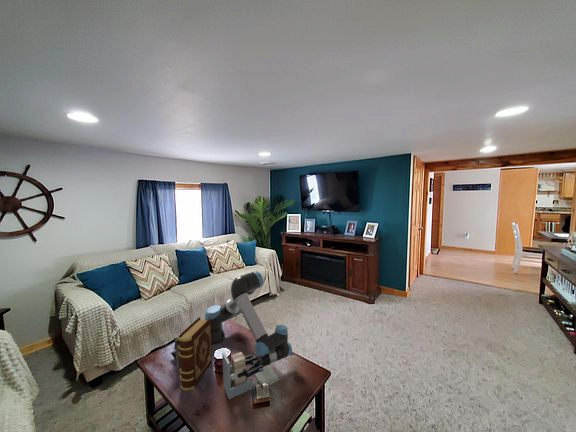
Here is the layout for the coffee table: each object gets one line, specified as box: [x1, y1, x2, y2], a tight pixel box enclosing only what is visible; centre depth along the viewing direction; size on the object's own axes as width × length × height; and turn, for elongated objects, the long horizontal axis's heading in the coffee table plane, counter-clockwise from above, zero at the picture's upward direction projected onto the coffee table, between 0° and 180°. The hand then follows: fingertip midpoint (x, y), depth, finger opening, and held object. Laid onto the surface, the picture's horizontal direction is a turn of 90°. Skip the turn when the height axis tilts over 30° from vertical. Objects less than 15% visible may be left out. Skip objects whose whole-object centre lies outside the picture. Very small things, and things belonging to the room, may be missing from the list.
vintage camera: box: [170, 336, 181, 370], centre depth 150 cm, size 10×16×20 cm, turn 45°
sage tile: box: [254, 364, 280, 386], centre depth 138 cm, size 15×10×1 cm, turn 32°
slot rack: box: [221, 352, 253, 400], centre depth 128 cm, size 9×13×20 cm
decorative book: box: [177, 316, 213, 392], centre depth 137 cm, size 22×8×30 cm, turn 168°
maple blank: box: [230, 351, 247, 388], centre depth 129 cm, size 6×6×18 cm
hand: (229, 373), depth 126 cm, fingers closed on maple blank, 6 cm apart
